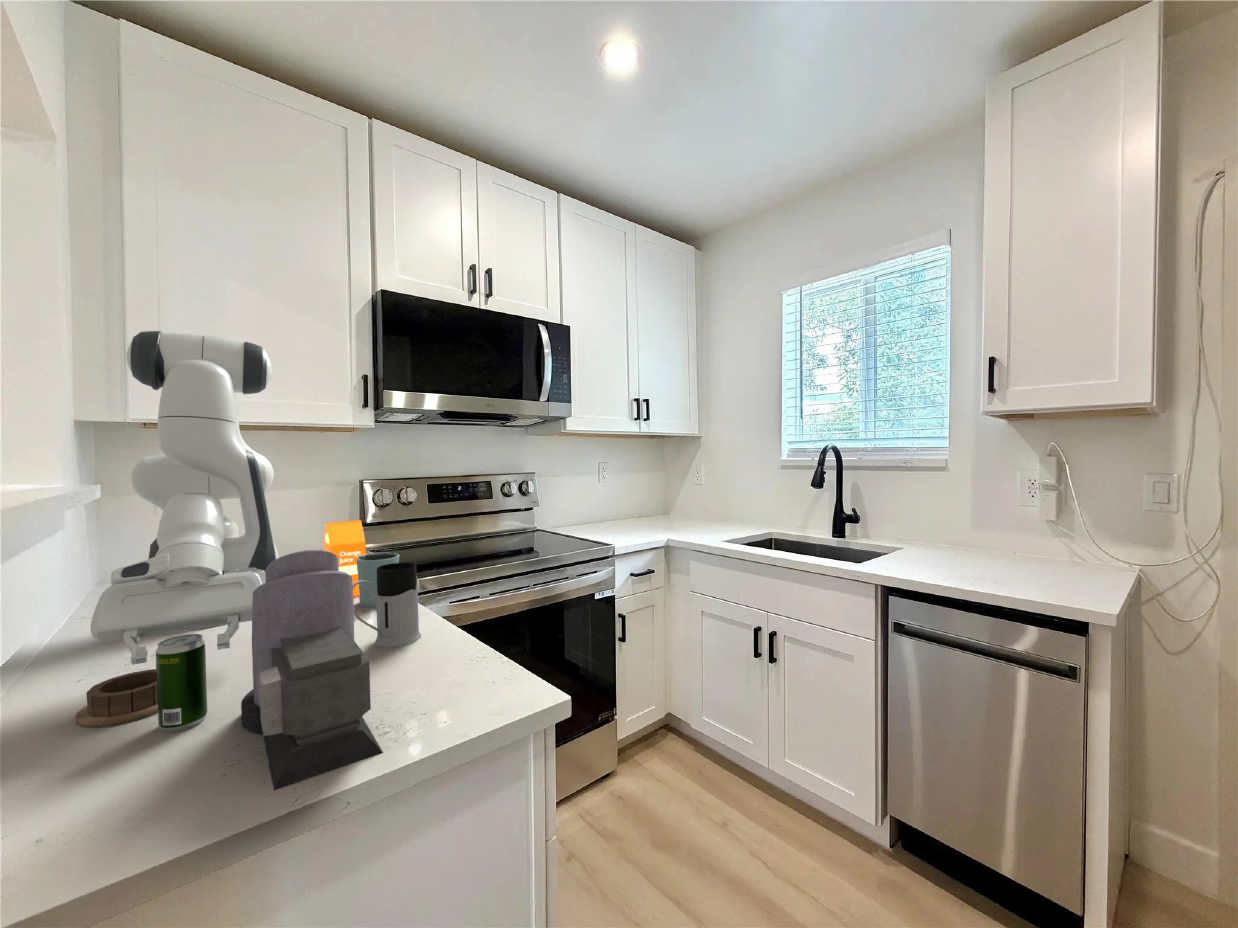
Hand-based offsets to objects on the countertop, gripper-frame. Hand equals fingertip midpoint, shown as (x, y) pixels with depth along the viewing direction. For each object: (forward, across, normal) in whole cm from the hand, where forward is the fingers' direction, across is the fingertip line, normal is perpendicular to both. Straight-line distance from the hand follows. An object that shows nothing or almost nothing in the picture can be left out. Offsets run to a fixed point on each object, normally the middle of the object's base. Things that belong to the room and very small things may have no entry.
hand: (182, 654), depth 75 cm
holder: (-4, -30, -18) cm, 35 cm away
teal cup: (-28, -34, -40) cm, 60 cm away
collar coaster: (0, +7, -14) cm, 16 cm away
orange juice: (-37, -28, -50) cm, 68 cm away
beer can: (+8, 0, -6) cm, 10 cm away
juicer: (+15, -15, +1) cm, 22 cm away
